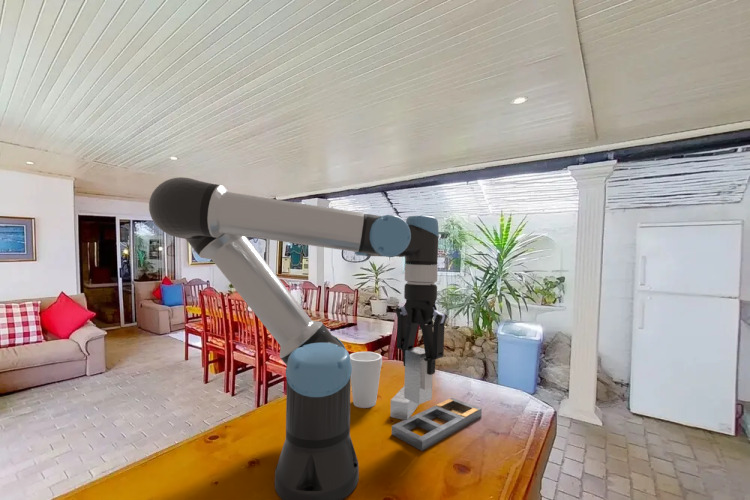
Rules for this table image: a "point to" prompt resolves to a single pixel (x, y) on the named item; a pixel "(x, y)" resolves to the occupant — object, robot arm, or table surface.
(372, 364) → the foam cup
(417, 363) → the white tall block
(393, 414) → the block
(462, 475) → the table surface
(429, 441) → the grey flat frame
